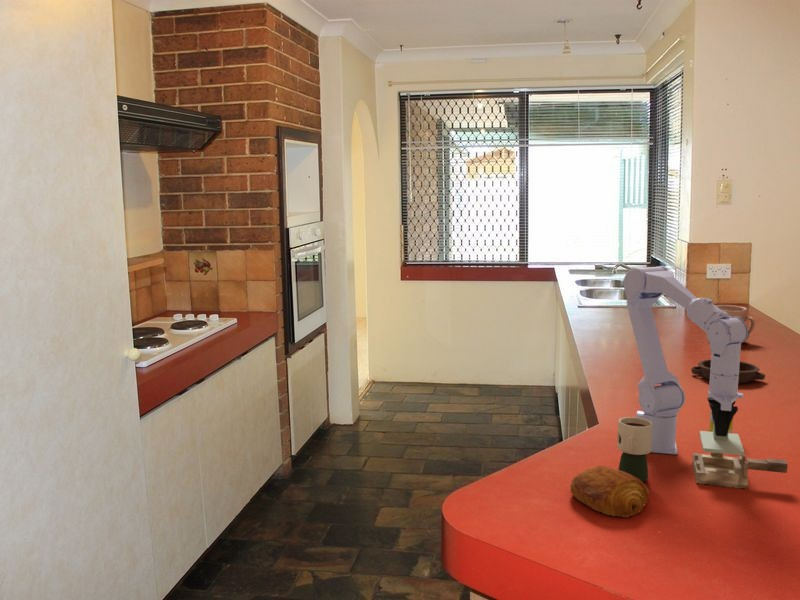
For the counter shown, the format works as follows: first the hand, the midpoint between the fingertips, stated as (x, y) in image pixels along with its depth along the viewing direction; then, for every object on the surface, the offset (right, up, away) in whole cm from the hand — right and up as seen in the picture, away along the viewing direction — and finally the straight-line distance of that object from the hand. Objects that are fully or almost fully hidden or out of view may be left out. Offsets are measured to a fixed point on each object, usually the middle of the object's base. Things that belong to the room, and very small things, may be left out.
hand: (720, 433), depth 167 cm
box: (-1, -9, 0) cm, 9 cm away
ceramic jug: (+61, +12, +135) cm, 149 cm away
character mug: (-20, -10, -2) cm, 22 cm away
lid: (-1, -2, -2) cm, 3 cm away
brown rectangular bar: (+7, -6, -6) cm, 12 cm away
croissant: (-28, -12, -14) cm, 33 cm away
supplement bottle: (+10, -6, +25) cm, 27 cm away
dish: (+36, +3, +80) cm, 88 cm away
